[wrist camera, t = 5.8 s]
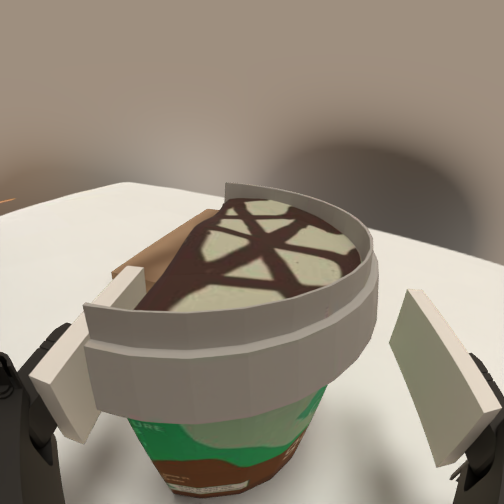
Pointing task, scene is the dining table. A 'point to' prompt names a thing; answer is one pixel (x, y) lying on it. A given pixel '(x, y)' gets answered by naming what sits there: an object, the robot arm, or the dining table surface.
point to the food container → (238, 338)
